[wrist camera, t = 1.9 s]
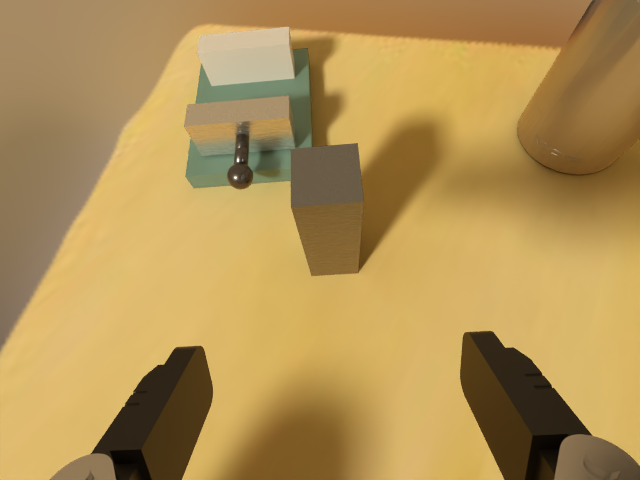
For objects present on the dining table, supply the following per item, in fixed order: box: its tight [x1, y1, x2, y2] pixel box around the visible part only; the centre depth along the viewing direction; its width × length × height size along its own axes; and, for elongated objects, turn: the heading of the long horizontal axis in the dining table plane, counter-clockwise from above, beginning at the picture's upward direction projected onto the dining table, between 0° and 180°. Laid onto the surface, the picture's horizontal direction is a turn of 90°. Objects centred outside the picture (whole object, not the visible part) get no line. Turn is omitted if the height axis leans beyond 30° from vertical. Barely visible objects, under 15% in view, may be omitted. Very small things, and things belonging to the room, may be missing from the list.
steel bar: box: [291, 143, 364, 276], centre depth 26 cm, size 4×4×12 cm
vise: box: [185, 27, 313, 188], centre depth 35 cm, size 16×12×6 cm
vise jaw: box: [184, 96, 295, 189], centre depth 31 cm, size 8×9×4 cm
